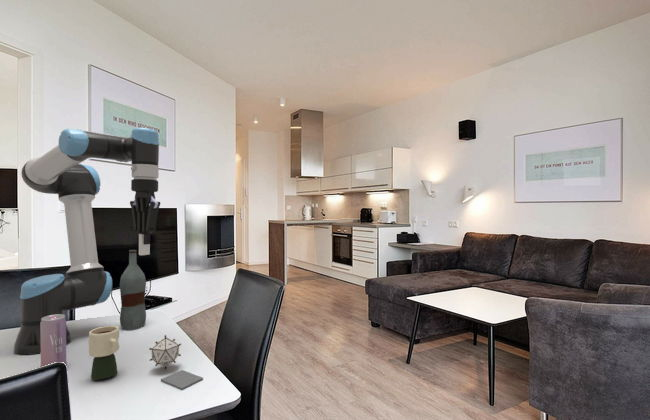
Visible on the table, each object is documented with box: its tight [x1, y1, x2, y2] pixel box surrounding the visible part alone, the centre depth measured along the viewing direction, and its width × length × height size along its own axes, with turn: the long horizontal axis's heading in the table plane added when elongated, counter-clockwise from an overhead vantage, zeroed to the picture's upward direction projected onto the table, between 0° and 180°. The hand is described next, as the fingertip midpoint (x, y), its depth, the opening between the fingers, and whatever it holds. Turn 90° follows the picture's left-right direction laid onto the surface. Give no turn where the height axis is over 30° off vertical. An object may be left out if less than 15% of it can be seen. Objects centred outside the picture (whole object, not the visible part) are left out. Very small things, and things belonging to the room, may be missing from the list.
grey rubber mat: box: [160, 369, 204, 391], centre depth 97 cm, size 9×7×1 cm
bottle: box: [119, 249, 147, 331], centre depth 142 cm, size 9×9×30 cm
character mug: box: [88, 325, 120, 381], centre depth 100 cm, size 11×7×13 cm, turn 60°
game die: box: [148, 334, 182, 370], centre depth 104 cm, size 9×8×10 cm
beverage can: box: [40, 313, 67, 368], centre depth 105 cm, size 6×6×15 cm
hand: (144, 254), depth 113 cm, fingers closed
